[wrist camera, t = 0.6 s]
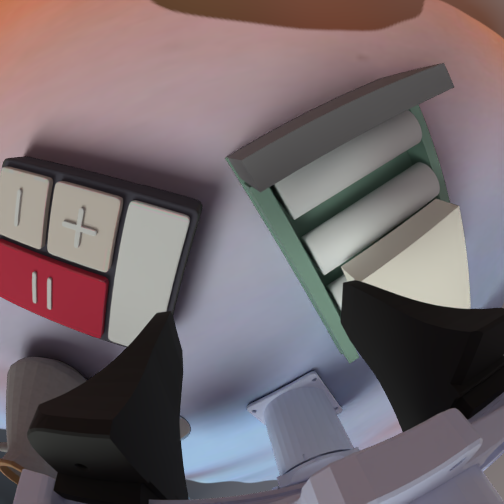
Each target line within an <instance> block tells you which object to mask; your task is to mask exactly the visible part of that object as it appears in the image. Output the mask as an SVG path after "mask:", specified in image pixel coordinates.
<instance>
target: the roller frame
mask: <svg viewBox="0 0 504 504" xmlns="http://www.w3.org/2000/svg"><path fill="white" fill-rule="evenodd" d="M451 88H454V85H453V83H452V80H451V78H450V76H449V73H448V71H447V69H446V67H445V64H444V63H442V64H437V65H432V66H428V67H424V68H419V69H415V70H411V71H407V72H403V73H399V74H396V75H392V76H388V77H384V78H381V79H378V80H376V81H374V82H371V83H369V84H367V85H364V86H362V87H360V88H357V89H355V90H353V91H351V92H348V93H346V94H344V95H342V96H340V97H337V98H335V99H333V100H331V101H329V102H327V103H325V104H323V105H321V106H319V107H317V108H315V109H313V110H311V111H309V112H307V113H305V114H303V115H301V116H299V117H297V118H295V119H293V120H291V121H289V122H287V123H285V124H284V125H282V126H280V127H278V128H276V129H274V130H273V131H271V132H269V133H267V134H265V135H264V136H262V137H260V138H258V139H256V140H255V141H253V142H251V143H250V144H248V145H246V146H244V147H243V148H241V149H239V150H238V151H236V152H234V153H233V154H231V155H229V156H228V157H226V158H225V159H226V160H227V162H228V164H229V165H230V167H231V168H232V170H233V172H234V173H235V175H236V177H237V178H238V180H239V181H240V183H241V185H242V186H243V188H244V189H245V191H246V193H247V194H248V196H249V198H250V199H251V201H252V203H253V204H254V206H255V207H256V209H257V211H258V212H259V214H260V216H261V217H262V219H263V221H264V222H265V224H266V226H267V227H268V229H269V231H270V232H271V234H272V236H273V237H274V239H275V241H276V242H277V244H278V246H279V247H280V249H281V251H282V252H283V254H284V256H285V258H286V259H287V261H288V263H289V264H290V266H291V268H292V269H293V271H294V273H295V275H296V276H297V278H298V280H299V281H300V283H301V285H302V287H303V288H304V290H305V292H306V294H307V295H308V297H309V299H310V300H311V302H312V304H313V306H314V307H315V309H316V311H317V313H318V314H319V316H320V318H321V320H322V321H323V323H324V325H325V327H326V329H327V330H328V332H329V334H330V336H331V337H332V339H333V341H334V343H335V345H336V346H337V348H338V350H339V351H340V353H341V354H342V353H343V354H344V356H345V357H346V359H347V360H348V362H349V363H351V362H353V361H355V360H356V359H358V358H359V356H358V353H357V351H356V349H355V347H354V345H353V344H352V342H351V341H350V340H349V338H348V336H347V334H346V332H345V330H344V328H343V326H342V324H341V322H340V321H341V307H342V291H343V283H344V282H348V281H347V279H346V277H345V275H344V273H343V270H342V268H341V266H343V265H344V264H346V263H347V262H349V261H350V260H352V259H353V258H355V257H356V256H358V255H359V254H361V253H362V252H363V251H365V250H366V249H368V248H369V247H371V246H372V245H374V244H375V243H376V242H378V241H379V240H381V239H382V238H383V237H385V236H386V235H388V234H389V233H390V232H392V231H393V230H395V229H396V228H397V227H399V226H400V225H402V224H403V223H404V222H406V221H407V220H408V219H410V218H411V217H412V216H414V215H415V214H416V213H418V212H419V211H420V210H422V209H423V208H424V207H426V206H427V205H428V204H430V203H431V202H432V201H434V200H435V199H439V200H442V201H445V202H448V203H450V201H449V197H448V193H447V189H446V185H445V181H444V177H443V174H442V170H441V167H440V163H439V160H438V157H437V154H436V151H435V148H434V145H433V142H432V139H431V136H430V133H429V130H428V128H427V125H426V122H425V120H424V117H423V115H422V112H421V110H420V107H419V105H418V104H420V103H422V102H424V101H427V100H429V99H431V98H433V97H435V96H437V95H439V94H441V93H443V92H445V91H447V90H449V89H451Z"/></svg>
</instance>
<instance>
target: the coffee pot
mask: <svg viewBox="0 0 504 504" xmlns="http://www.w3.org/2000/svg"><path fill="white" fill-rule="evenodd" d="M86 381H87V380H86V379H85V378H84V377H83V376H82V375H81V374H80V373H79V372H78V371H76V370H75V369H73V368H72V367H71V366H69V365H67V364H65V363H63V362H61V361H58V360H55V359H49V358H41V357H27V358H23V359H20V360H18V361H17V362H15V363H14V364H12V365H11V367H10V369H9V371H8V374H7V390H6V429H7V442H0V451H4V452H7V453H6V454H5V456H4V457H3V458H2V459H0V471H1V472H2V473H3V474H4V475H5V476H7V477H8V478H9V479H11V480H12V481H13V482H15V483H16V484H18V483H19V479H20V476H21V473H22V469H27V470H30V471H34V472H37V473H41V474H45V475H47V476H50V477H52V478H54V479H55V480H56V477H57V473H58V472H57V471H56V470H54V469H53V468H52V467H51V466H50V465H49V464H48V463H47V462H46V461H45V460H44V459H43V458H42V457H41V456H40V455H39V454H38V453H37V452H36V451H35V450H34V449H33V447H32V446H31V444H30V442H29V440H28V438H27V431H28V429H29V426H30V424H31V422H32V419H33V417H34V414H35V412H36V410H37V407H38V405H39V404H41V403H44V402H46V401H49V400H51V399H54V398H56V397H58V396H61V395H63V394H65V393H67V392H69V391H70V390H72V389H74V388H76V387H78V386H79V385H81V384H83V383H84V382H86Z"/></svg>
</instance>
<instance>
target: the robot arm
mask: <svg viewBox="0 0 504 504" xmlns="http://www.w3.org/2000/svg"><path fill="white" fill-rule="evenodd" d="M340 322H341V324H342V326H343V328H344V330H345V332H346V334H347V336H348V338H349V340H350V341H351V342H352V344H353V345H354V347H355V348H356V349H357V351H358V352H359V354H360V355H361V356H362V358H363V359H364V360H365V362H366V363H367V364H368V366H369V367H370V368H371V370H372V371H373V373H374V374H375V376H376V377H377V379H378V380H379V382H380V384H381V386H382V388H383V389H384V391H385V393H386V395H387V397H388V399H389V401H390V403H391V405H392V407H393V409H394V412H395V414H396V416H397V419H398V421H399V424H400V426H401V428H402V431H403V433H400V434H398V435H396V436H394V437H392V438H390V439H387V440H385V441H383V442H380V443H378V444H376V445H373V446H371V447H368V448H366V449H363V450H359V448H358V447H356V448H354V447H353V445H352V443H351V441H350V439H349V437H348V435H347V433H346V432H345V430H344V428H343V426H342V424H341V422H340V420H339V418H338V416H337V414H339V413H341V412H342V408H341V407H340V405H339V404H338V402H337V401H336V400H335V398H334V397H333V395H332V394H331V393H330V391H329V390H328V388H327V387H326V386H325V384H324V383H323V381H322V380H321V379H320V377H319V376H318V374H317V373H316V372H315V371H312V372H310V373H308V374H306V375H304V376H303V377H301V378H299V379H297V380H295V381H294V382H292V383H290V384H288V385H286V386H284V387H283V388H281V389H279V390H277V391H275V392H273V393H271V394H269V395H267V396H265V397H263V398H261V399H259V400H257V401H255V402H253V403H251V404H249V405H248V406H247V410H248V411H249V412H250V413H251V414H252V415H253V416H255V417H256V418H257V419H258V420H259V421H261V422H262V423H263V424H264V425H266V428H267V432H268V435H269V439H270V442H271V446H272V449H273V453H274V456H275V460H276V463H277V467H278V470H279V474H280V476H279V477H277V481H278V484H279V486H278V487H274V488H272V490H270V491H265V492H259V493H253V494H247V495H239V496H232V497H222V498H211V499H195V500H189V498H188V492H187V487H186V481H185V474H184V467H183V458H182V449H181V437H180V404H181V391H182V379H183V356H182V348H181V345H180V341H179V337H178V334H177V330H176V327H175V323H174V319H173V315H172V312H171V311H166V312H158V313H156V314H155V315H154V316H153V318H152V319H151V320H150V321H149V323H148V324H147V325H146V326H145V327H144V329H143V330H142V331H141V332H140V333H139V335H138V336H137V337H136V338H135V339H134V340H133V341H132V342H131V343H130V345H129V346H128V347H127V348H126V349H125V350H124V351H123V352H122V353H121V354H120V355H119V356H118V357H117V358H116V359H115V360H114V361H112V362H111V363H110V364H109V365H108V366H107V367H105V368H104V369H103V370H101V371H100V372H99V373H97V374H96V375H94V376H93V377H92V378H90V379H89V380H87V381H86V382H84V383H83V384H81V385H79V386H78V387H76V388H74V389H72V390H70V391H69V392H67V393H65V394H63V395H61V396H58V397H56V398H54V399H51V400H49V401H46V402H44V403H41V404H39V405H38V407H37V410H36V412H35V414H34V417H33V419H32V422H31V424H30V426H29V429H28V431H27V438H28V440H29V442H30V444H31V446H32V447H33V449H34V450H35V451H36V452H37V453H38V454H39V455H40V456H41V457H42V458H43V459H44V460H45V461H46V462H47V463H48V464H49V465H50V466H51V467H52V468H53V469H54V470H56V471H57V472H58V473H57V477H56V480H55V479H54V478H52V477H50V476H47V475H45V474H41V473H37V472H34V471H30V470H27V469H22V473H21V476H20V479H19V483H18V487H17V490H16V495H15V498H14V502H13V504H504V501H503V499H502V498H501V497H500V495H499V494H498V492H497V491H496V489H495V488H494V487H493V485H492V484H491V483H490V481H489V480H488V478H487V477H486V476H485V474H484V473H483V471H485V470H486V469H487V468H488V467H489V466H490V465H491V464H492V463H493V462H495V461H496V460H497V459H498V458H499V457H500V456H501V455H502V454H503V453H504V309H503V308H490V309H462V308H452V307H444V306H438V305H433V304H429V303H424V302H420V301H417V300H413V299H410V298H407V297H404V296H401V295H398V294H395V293H392V292H389V291H387V290H384V289H381V288H378V287H376V286H373V285H370V284H367V283H364V282H361V281H357V280H353V281H348V282H344V283H343V291H342V307H341V321H340Z"/></svg>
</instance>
